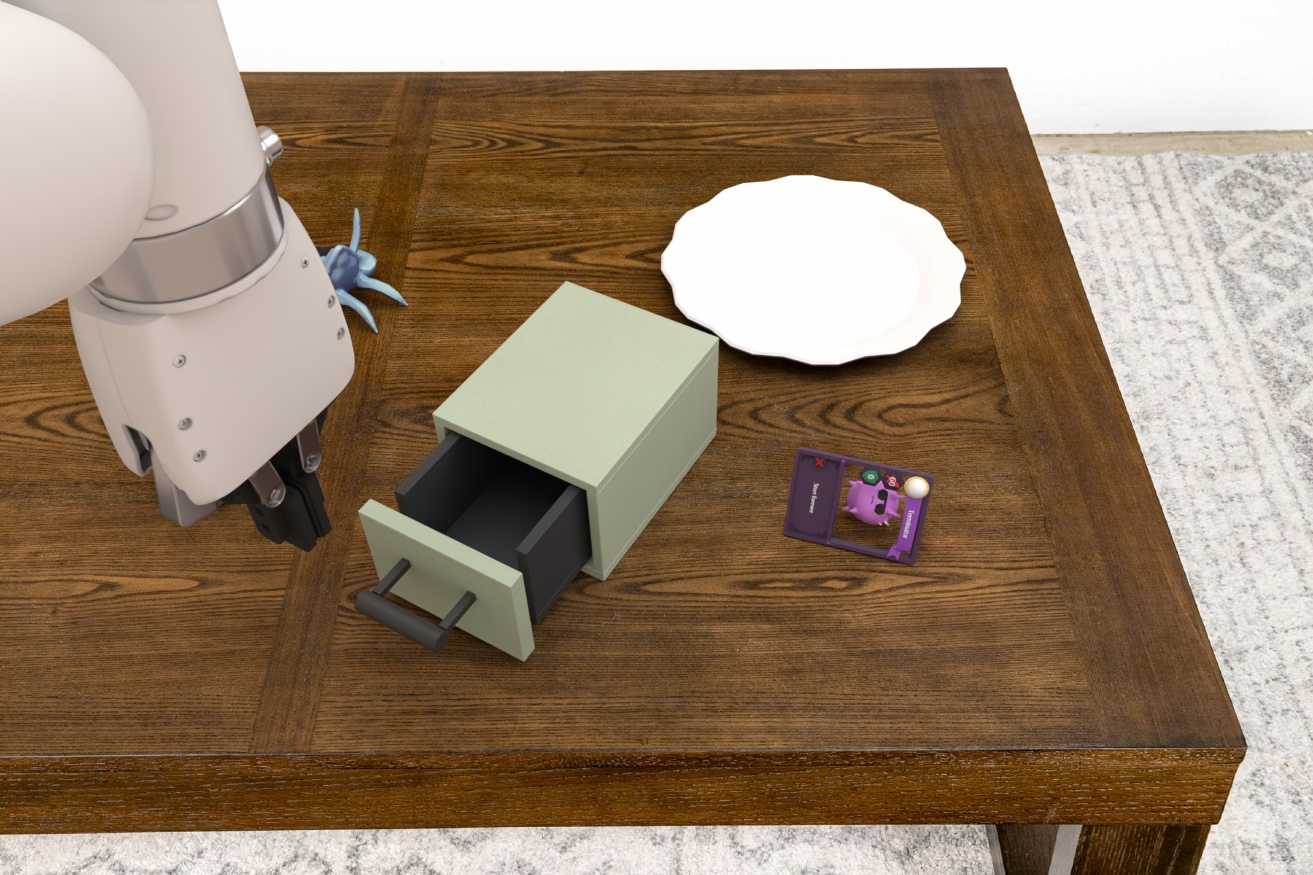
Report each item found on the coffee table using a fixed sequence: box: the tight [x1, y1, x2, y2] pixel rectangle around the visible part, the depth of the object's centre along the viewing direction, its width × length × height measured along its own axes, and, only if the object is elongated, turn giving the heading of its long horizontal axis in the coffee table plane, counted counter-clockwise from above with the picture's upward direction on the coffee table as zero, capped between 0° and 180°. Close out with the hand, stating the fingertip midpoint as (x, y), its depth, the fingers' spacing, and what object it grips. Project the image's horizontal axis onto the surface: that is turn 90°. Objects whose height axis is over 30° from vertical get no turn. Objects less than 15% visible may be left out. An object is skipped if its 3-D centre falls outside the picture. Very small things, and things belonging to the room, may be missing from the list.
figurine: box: [315, 207, 409, 335], centre depth 96 cm, size 10×12×8 cm
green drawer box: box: [431, 280, 720, 582], centre depth 80 cm, size 16×13×10 cm
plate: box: [660, 174, 967, 367], centre depth 98 cm, size 25×25×2 cm
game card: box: [782, 446, 935, 565], centre depth 78 cm, size 7×5×9 cm
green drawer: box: [354, 431, 593, 663], centre depth 74 cm, size 19×11×8 cm, turn 149°
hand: (297, 530), depth 56 cm, fingers closed
